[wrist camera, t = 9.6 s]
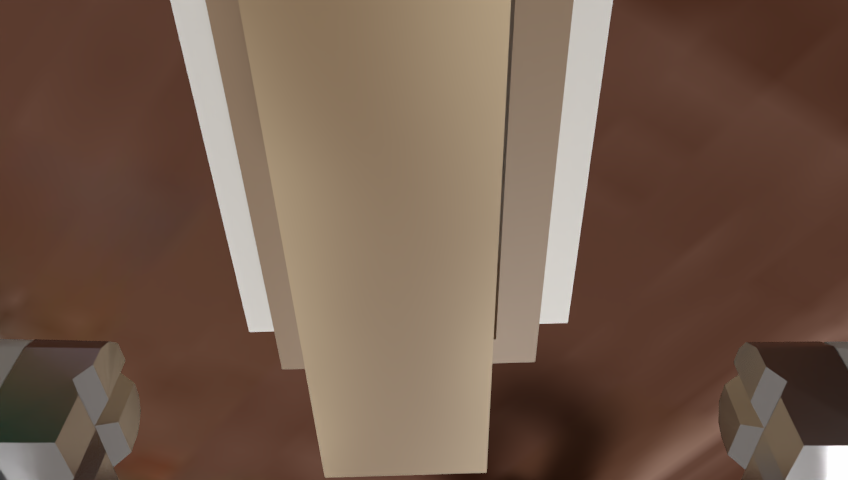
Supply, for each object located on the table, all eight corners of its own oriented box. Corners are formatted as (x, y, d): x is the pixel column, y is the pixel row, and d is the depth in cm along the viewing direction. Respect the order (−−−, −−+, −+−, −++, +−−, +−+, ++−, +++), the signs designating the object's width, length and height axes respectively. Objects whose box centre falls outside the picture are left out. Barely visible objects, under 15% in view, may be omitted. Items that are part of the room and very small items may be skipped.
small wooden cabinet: (640, -324, 14) (701, -325, 11) (561, 297, 24) (582, 381, 21) (118, -310, 14) (42, -307, 11) (255, 306, 24) (234, 391, 21)
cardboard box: (480, -159, 14) (525, -60, 9) (470, 265, 21) (493, 472, 16) (297, -153, 14) (229, -51, 9) (346, 269, 21) (324, 477, 16)
